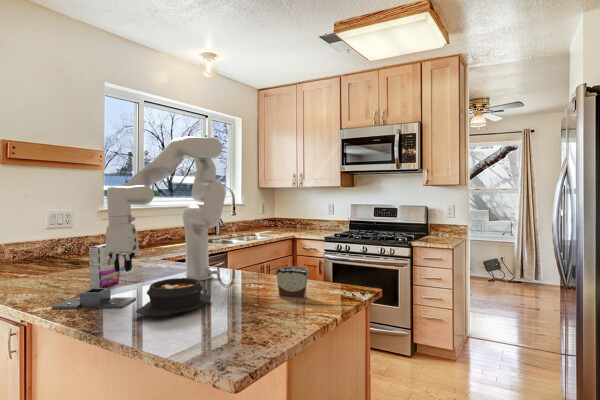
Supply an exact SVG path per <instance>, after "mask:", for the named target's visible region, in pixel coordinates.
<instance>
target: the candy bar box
mask: <svg viewBox="0 0 600 400" xmlns="http://www.w3.org/2000/svg"><path fill="white" fill-rule="evenodd" d="M105 248H106V243H103V244H98V245H93V246H92V245H91V246H88V259H89V263H88V264H89V282H90V283H89V285H90V286H89V289H91V288H103V287H104V288H107V287H110V286H113V285H115V284H117V283H119V282H120V277H119V271H118V272H116V271H115V268H114V261H113V260H112V258H110V257H109V256H108V255H106V254H104V250H105ZM106 286H107V287H106Z"/></svg>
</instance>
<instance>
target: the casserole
mask: <svg viewBox="0 0 600 400" xmlns="http://www.w3.org/2000/svg"><path fill="white" fill-rule="evenodd" d="M203 290H204V286H203V285H202V283H201V280H200V281H199V280H196V279H190V278H181V277H180V278H177V277H176V278H175V277H174V278H170V279H162V280H159V281H158V280H157V281H154V282H153V283H151V284H150V286H149V288H148V290H147V292H146V294H147V296H148V297H149V298H148V299H149V301H148V302H147V303H145V304H144V305H143V306H141V307H138V309H136V311H135V312H136V314H139V315H141V316H145V317H156V318H157V317H167V316H170V315H173V316H174V315H180V314H181V315H182V314H186V313H189V312H191V311H193V310H196V309H198V308H201V307H203V306H205V304H206V303H207V301H209V300H210V299H211V298H212V297H211V295H209V294H206V293H202V292H203Z"/></svg>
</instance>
